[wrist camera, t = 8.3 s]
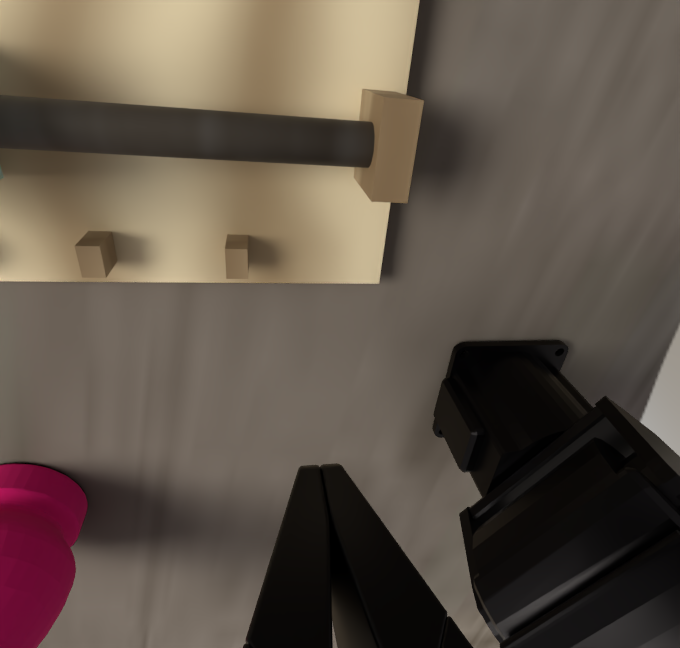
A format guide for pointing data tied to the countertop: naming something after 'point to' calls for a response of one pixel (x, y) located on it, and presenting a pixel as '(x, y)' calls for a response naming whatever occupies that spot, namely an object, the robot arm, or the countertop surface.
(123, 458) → the countertop surface
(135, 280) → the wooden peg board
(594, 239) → the countertop surface
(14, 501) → the pepper mill
